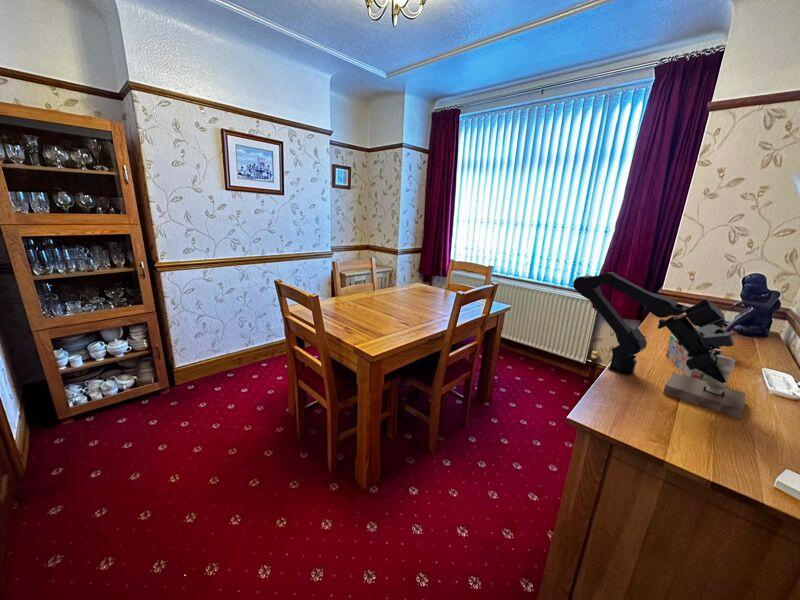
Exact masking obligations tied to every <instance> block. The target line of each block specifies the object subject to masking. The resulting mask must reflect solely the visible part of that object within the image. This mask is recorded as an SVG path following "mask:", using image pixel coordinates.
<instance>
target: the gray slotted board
mask: <svg viewBox="0 0 800 600" xmlns="http://www.w3.org/2000/svg"><path fill="white" fill-rule="evenodd" d="M707 385H708V384H707V382H706V381H703V380H699V379H696V378H693V377H689V376H686V375H684V374H683V373H679V372H675V371H673V373H672V374H671V375H670V377H669V379H668V381H666V383H665V385H664V389H663V392H662V395H663V394H664V395H666V396H670V397H672V398H675V399H679V400H680V401H681V400H682V401H684V402H686V403H687V402H688V403H690V404H693V405H696V406H699V407H702V408H704V409H708V410H711V411H714V412H715V413H718V414H719V413H720V414H723V415H726V416H728V415H729V417H732V418H733V419H737V420H741V417H742V415H743V413H744V410H745V401H746V394H747V393H746V392H743V391H739V390H737V389H733V388H731V387H730V388H729V387H726V386H725V389H723V391H722V395H721V397H720V396H717V395H714V394H711V393H707V392H705V391H706V388H707Z"/></svg>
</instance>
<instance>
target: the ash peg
mask: <svg viewBox="0 0 800 600" xmlns="http://www.w3.org/2000/svg"><path fill="white" fill-rule="evenodd" d="M717 357H718V361H717V366H718V368H719V370H720V371H721V373H722V375H723V376H724V378H725V380H726V382H725V383H721V382H719V381H717V380H716V379H714V378H712V377H710V376H709V379H708V382H707V384H708V385H707V388H706V391H705V392H707V393H711V394H714V395H717V396H720V397H721V395H722V391H723V389H725V387H726V386H727V383H728V380H729V377H730V375H731V374H732V372H733V370H734V367H735V364H736V359H734V358H733V357H729V356H727V355H726V356H725V355H722V354H721V355H715V358H717Z"/></svg>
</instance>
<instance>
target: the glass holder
mask: <svg viewBox="0 0 800 600" xmlns="http://www.w3.org/2000/svg"><path fill="white" fill-rule="evenodd" d="M725 320H726V318H724V319H721V320H719V321H717V322H714V323H712V324H709V325H707V326H704V327H700V326H699V325H698V326H695V328H696V329H697V331H698V332H699V331H700V332H703V333H704V334H705V335H709V334H714V333H715V330H716V329H723V325H724V322H725Z"/></svg>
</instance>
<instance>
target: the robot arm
mask: <svg viewBox="0 0 800 600" xmlns="http://www.w3.org/2000/svg"><path fill="white" fill-rule="evenodd" d="M602 285H607V286H610V287H612V288H613V289H615V290H617V291H618V292H620V293H622V294H624V295H626V296H628V297H630V298H631V299H633V300H635V301H637V302H638V303H640V304H641V305H642V306H643V307H644V308H645V309H646V310H647V311H648V312H650V314H652V315H653V316H654V317H657V318H660V319H659V320H658V325H657V329H658V330H660V329H663V328H665V327H666V329H667V330H668V331H669V332H670V333H671V335H674V337H675V338H676V339H677V340H678V342H677V343H678V344H679V346H680V345H682V346H683V347H684V349H685V350H686V351H687V352H688V354H687V355H688V356H689V358H688V359H687V362H686V365H687V366H688V368H689V369H690V370H693V369H697V370H699V371H701V372H703V373H705V374H707V375H709V376H710V377H712V378H714V379H716V380H717V381H719V382H721V383H725V382H726V380H725V378H724V376H723V375H722V373H721V371H720V370H719V368H718V366H717V361H718V357H717V358H715V355H720V353H721V351H717V352H714V351H711V350H713V349H716V348H717V349H721V347H733V346H734V343H735V342H734V339H733V335H732V333H731V332H730V331H726V330H725V329H723V328H722V329H716V330H715V333H714V334H709V335H705V334H704V333H703V332H700V331H699V332H698V331H697V329H696V326H698V325H699V326H700V327H704V326H707V325H709V324H712V323H714V322H717V321H719V320H721V319H726V316H725V314H724V312H722V310H721V309H720V308H719V307H718V306H717V305H715V303H714V302H711V301H710V300H709V299H708V298H705V299H703V300H700V302H697V303H695V304H694V305H692V306H688V305H684V304H681V303H678V302H677V301H676V300H675V299H673V298H671V297H668V296H665V295H663V294H659V293H656V292H655V293H653V292H651V291H648V290H646V289H644V288H643V287H641V286H640V285H637V284H635V283H633V282H631V281H630V280H627V279H626V278H623V277H622V276H619V275H618V274H617V273H616V272H613V271H611V272H605V273H603V274H602V273H601V274H598V275H595V276H593V275H589V274H587V275H583V276H578V277H576V278H575V279H574V281H573V283H572V287H573V288H574V290H575V291H576V292H577V293H578V294H579V295H580V296H581V297H584V298H585V299H587V300H588V301H589V302H590V303H591V304H592V305H593V306H594V308H595V309H596V311H597V312H598V313H599V314H600V315H601V317H602V318H603V320H604V321H605V322H606V324H607V325H608V326H609V327H610V329H611V330H612V331H613V332H614V334H615V336H616V337H615V338H616V340H617V343H618V345H616V346H614V347H613V348H612V347H611V353H612V356H611V360H610V366H608V368H607V369H608V370H611V371H613V372H616V373H618V374H622V375H626V376H627V377H629V376H630V375H632V374H634V373H635V370H636V367H637V363H638V361H637V360H636V358H637V354H638V353H640V352H642V351H644V350H645V349H646V348H647V344H648V343H647V340H646V338H647V336H646V335H644V334H642V332H641V330H640V328H639V327H636V328H634V329H633V328H632V327H630V326H629V325H628V324H627V323H626V321H624V319H623V318H622V317H621V316H620V315H619V313H618V312H617V311H616V309H615V308H614V307H613V305H612V304H611V303H610V301H608V299H606V297H605V296H604V295H603V293H602V290H601V286H602ZM683 314H684V315H683ZM680 315H682V316H680ZM670 316H671V317H670ZM668 317H669V318H668ZM663 318H667V319H663Z"/></svg>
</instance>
